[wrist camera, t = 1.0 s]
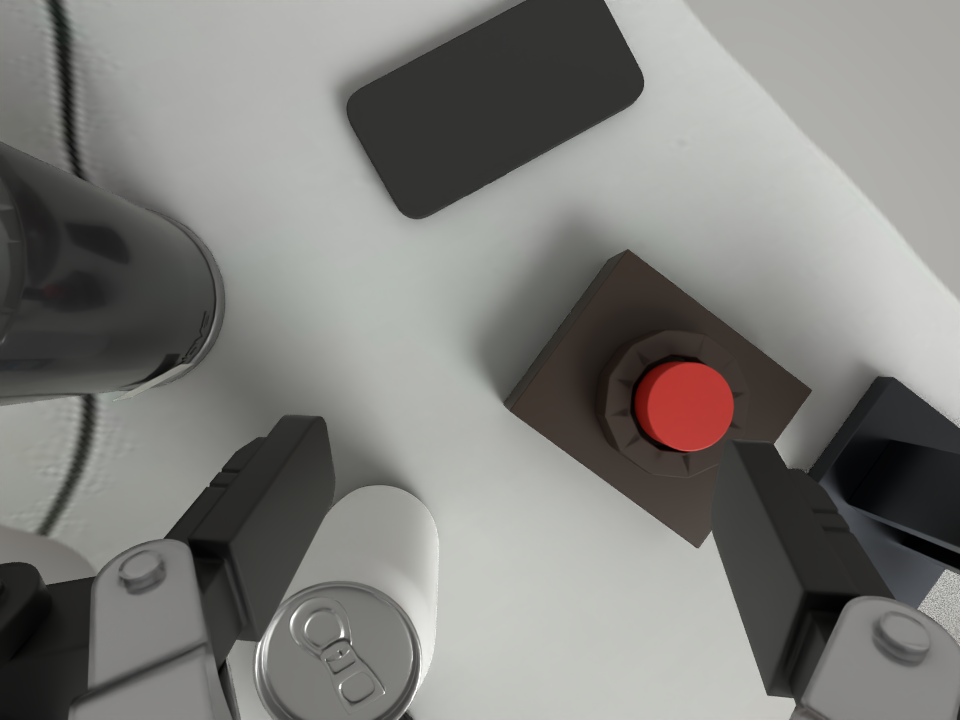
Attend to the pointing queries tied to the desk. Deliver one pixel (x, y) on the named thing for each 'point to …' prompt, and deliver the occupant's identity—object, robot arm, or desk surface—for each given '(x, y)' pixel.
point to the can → (355, 614)
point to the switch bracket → (898, 487)
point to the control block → (617, 374)
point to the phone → (493, 100)
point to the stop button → (684, 405)
